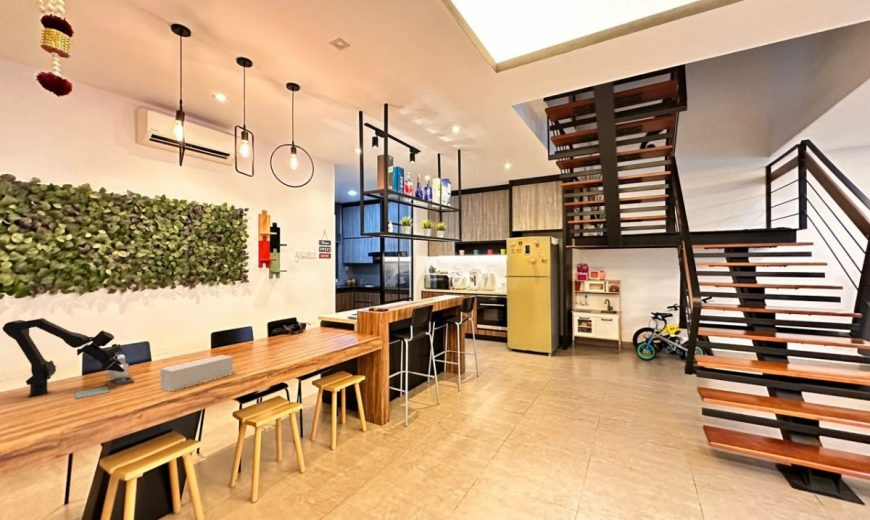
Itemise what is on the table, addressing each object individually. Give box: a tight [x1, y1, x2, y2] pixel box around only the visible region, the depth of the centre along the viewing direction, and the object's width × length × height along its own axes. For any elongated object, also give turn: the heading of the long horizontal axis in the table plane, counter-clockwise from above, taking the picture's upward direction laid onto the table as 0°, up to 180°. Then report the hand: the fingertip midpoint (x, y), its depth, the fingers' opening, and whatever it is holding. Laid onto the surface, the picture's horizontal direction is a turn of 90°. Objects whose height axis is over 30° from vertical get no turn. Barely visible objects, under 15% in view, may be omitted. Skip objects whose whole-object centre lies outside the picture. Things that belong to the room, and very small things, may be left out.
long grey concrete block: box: [160, 354, 234, 392], centre depth 193 cm, size 32×11×11 cm, turn 152°
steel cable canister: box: [112, 362, 129, 384], centre depth 190 cm, size 6×6×10 cm
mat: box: [74, 385, 110, 400], centre depth 175 cm, size 12×12×1 cm
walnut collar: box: [107, 376, 135, 388], centre depth 190 cm, size 10×10×2 cm
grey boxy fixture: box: [108, 353, 126, 379], centre depth 205 cm, size 11×7×11 cm, turn 47°
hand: (123, 369), depth 191 cm, fingers open, 9 cm apart
